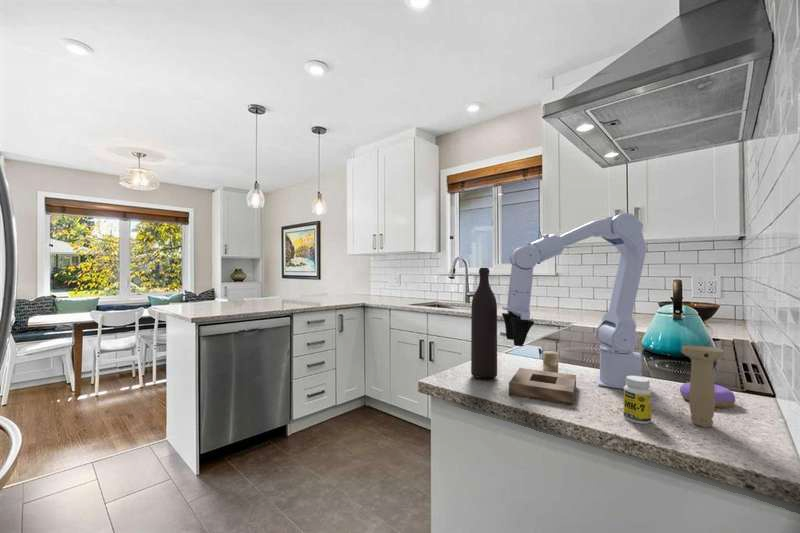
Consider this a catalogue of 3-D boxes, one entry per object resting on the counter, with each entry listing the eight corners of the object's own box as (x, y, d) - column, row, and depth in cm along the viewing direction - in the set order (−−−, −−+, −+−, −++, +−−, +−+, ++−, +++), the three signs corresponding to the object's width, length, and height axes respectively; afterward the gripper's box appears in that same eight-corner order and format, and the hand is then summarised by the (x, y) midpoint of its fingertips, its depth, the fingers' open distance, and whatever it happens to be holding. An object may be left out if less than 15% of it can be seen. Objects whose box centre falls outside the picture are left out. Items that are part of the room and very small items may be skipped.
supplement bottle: (620, 419, 76) (620, 378, 76) (627, 412, 79) (627, 373, 79) (648, 426, 73) (648, 383, 73) (653, 419, 76) (654, 378, 76)
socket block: (576, 386, 96) (576, 375, 96) (572, 405, 83) (572, 392, 83) (519, 378, 102) (519, 367, 102) (508, 395, 90) (508, 382, 90)
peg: (558, 372, 108) (558, 352, 108) (557, 376, 104) (557, 355, 104) (544, 370, 110) (544, 350, 110) (542, 374, 106) (542, 353, 106)
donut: (718, 394, 90) (721, 375, 89) (743, 417, 81) (747, 397, 80) (670, 391, 92) (673, 373, 91) (690, 413, 83) (693, 393, 82)
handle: (727, 432, 70) (727, 352, 70) (685, 426, 73) (685, 349, 73) (717, 422, 74) (718, 347, 74) (678, 417, 77) (679, 344, 77)
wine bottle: (502, 376, 103) (501, 268, 107) (488, 379, 98) (488, 265, 102) (479, 373, 108) (480, 270, 112) (466, 375, 103) (466, 267, 107)
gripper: (498, 288, 107) (493, 335, 107) (511, 292, 92) (506, 347, 93) (523, 290, 107) (518, 337, 107) (540, 295, 92) (534, 350, 93)
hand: (514, 342), depth 100 cm, fingers open, 7 cm apart
